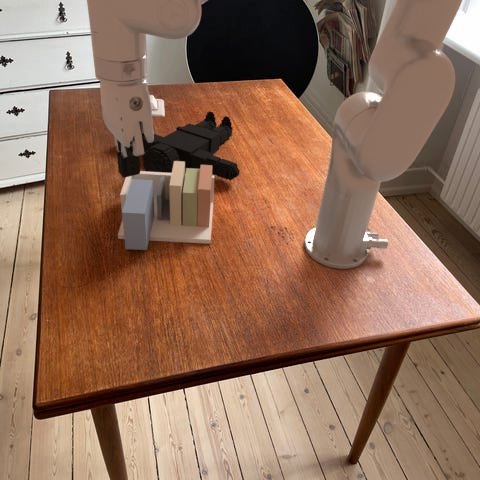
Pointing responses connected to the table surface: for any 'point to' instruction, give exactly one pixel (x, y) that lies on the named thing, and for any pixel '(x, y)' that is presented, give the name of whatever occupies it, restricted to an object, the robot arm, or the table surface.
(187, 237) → the shelf
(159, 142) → the toy
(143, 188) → the grey block
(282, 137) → the table surface
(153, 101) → the light switch
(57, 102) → the table surface
